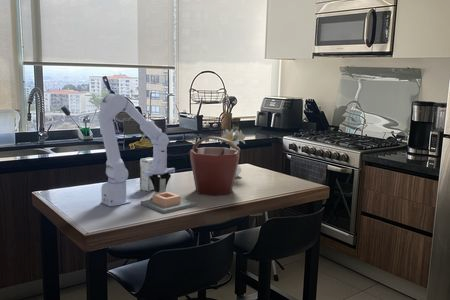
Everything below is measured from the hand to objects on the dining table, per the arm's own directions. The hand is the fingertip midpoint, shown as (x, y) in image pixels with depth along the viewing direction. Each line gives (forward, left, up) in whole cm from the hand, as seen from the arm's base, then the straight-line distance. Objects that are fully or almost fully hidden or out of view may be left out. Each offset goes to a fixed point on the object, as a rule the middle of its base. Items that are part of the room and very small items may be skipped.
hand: (160, 191), depth 194 cm
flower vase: (+53, +10, -3) cm, 54 cm away
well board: (-6, -13, -2) cm, 15 cm away
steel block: (0, 0, -2) cm, 2 cm away
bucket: (+24, -8, -3) cm, 25 cm away
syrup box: (+3, +13, -3) cm, 14 cm away
